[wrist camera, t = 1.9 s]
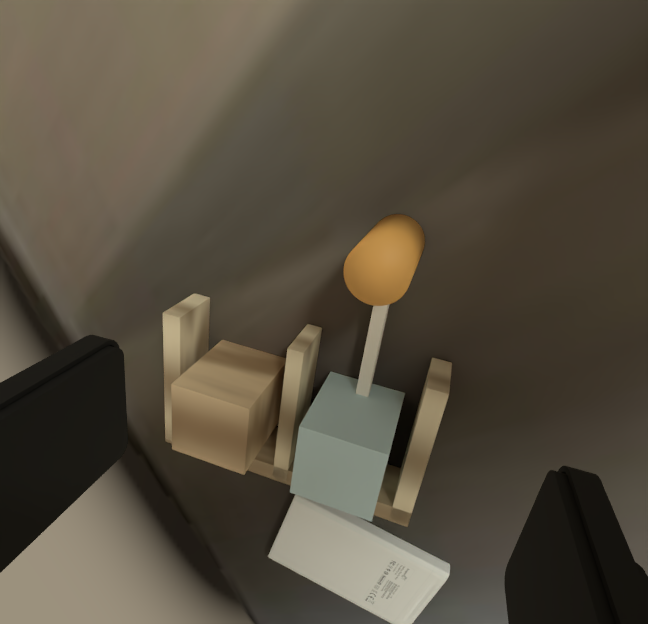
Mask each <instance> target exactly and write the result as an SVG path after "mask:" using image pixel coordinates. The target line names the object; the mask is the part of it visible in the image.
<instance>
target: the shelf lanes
mask: <svg viewBox="0 0 648 624" xmlns="http://www.w3.org/2000/svg"><path fill="white" fill-rule="evenodd" d="M209 317H210V297H206V296H202V295H199V294H195V293H194V294H192V295H191V296H189V297H188V298H186V299H184V300H183V301H181V302H180V303H178V304H176V305H175V306H173V307H171V308H170V309H168V310H167V311H165V312H163V347H164V395H165V441H166V442H169V443H172V400H171V384H172V383H173V382H174V381H175V380H176V379H178V378H179V377H180V376H181V375H182V374H183V373H184V372H186V371H187V370H188V369H189V368H190V367H191V366H192V365H194V364H195V363H196V362H197V361H198V360H199V359H200V358H202V357H203V356H204V355H205V354H206V353H207V352H208V351H209ZM321 333H322V328H321V327H317V326H314V325H310V324H307V325H306V326H305V328H304V329H303V330H302V331H301V332H300V334H299V335H298V336H297V337H296V339H295V340H294V341H293V342H292V343H291V345H290V346H289V347H288V348H287V356H286V365H285V373H284V382H283V390H282V399H281V407H280V416H279V424H278V428H276V427H275V428H274V430H273V431H272V433H271V434H270V436H269V438H268V439H267V441H266V442H265V444H264V445H263V447H262V448H261V450H260V451H259V453H258V455H257V456H256V458H255V459H254V461H253V462H252V464H251V465H250V467H249V468H248V471H251V472H254V473H256V474H259V475H262V476H265V477H268V478H271V479H273V480H276V481H279V482H282V483H285V484H287V485H290V486H291V480H292V473H293V466H294V459H295V452H296V445H297V438H298V431H299V426H300V424H301V422H302V420H303V419H304V417H305V415H306V413H307V412H308V410H309V408H310V405H311V398H312V392H313V385H314V379H315V372H316V366H317V359H318V353H319V346H320V339H321ZM451 370H452V363H451V362H447V361H444V360H440V359H436V358H433V357H432V360H431V363H430V367H429V370H428V374H427V377H426V381H425V384H424V388H423V391H422V395H421V398H420V402H419V405H418V409H417V413H416V416H415V420H414V423H413V427H412V430H411V434H410V437H409V441H408V444H407V448H406V451H405V455H404V459H403V462H402V466H401V468H398V467H395V466H392V465H389V464H387V465H386V469H385V473H384V477H383V481H382V484H381V488H380V492H379V496H378V500H377V503H376V507H375V511H374V515H375V516H378V517H381V518H383V519H386V520H389V521H392V522H395V523H398V524H400V525H403V526H406V527H408V523H409V520H410V517H411V514H412V511H413V508H414V504H415V501H416V498H417V495H418V492H419V489H420V485H421V482H422V479H423V476H424V473H425V470H426V466H427V463H428V460H429V457H430V454H431V451H432V447H433V444H434V441H435V438H436V435H437V431H438V428H439V425H440V422H441V419H442V416H443V412H444V409H445V406H446V403H447V400H448V397H449V391H450V380H451Z"/></svg>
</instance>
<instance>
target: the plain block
mask: <svg viewBox="0 0 648 624" xmlns="http://www.w3.org/2000/svg"><path fill="white" fill-rule="evenodd" d="M285 365H286V358H283V357H280V356H277V355H273V354H270V353H266V352H263V351H259V350H256V349H252V348H249V347H245V346H242V345H239V344H235V343H232V342H228V341H225V340H221V341H220V342H219V343H218V344H217V345H215V346H214V347H213V348H212V349H211V350H210V351H209V352H207V353H206V354H205V355H204V356H203V357H202V358H200V359H199V360H198V361H197V362H196V363H195V364H194V365H192V366H191V367H190V368H189V369H188V370H187V371H186V372H184V373H183V374H182V375H181V376H180V377H179V378H178V379H176V380H175V381H174V382H173V383H172V384H171V400H172V449H173V450H176V451H178V452H181V453H184V454H187V455H190V456H192V457H195V458H198V459H201V460H204V461H206V462H209V463H212V464H215V465H217V466H220V467H223V468H226V469H229V470H231V471H234V472H237V473H240V474H243V475H245V473H246V471H247V470H248V468H249V467H250V465H251V464H252V462H253V461H254V459H255V458H256V456H257V455H258V453H259V451H260V450H261V448H262V447H263V445H264V444H265V442H266V441H267V439H268V438H269V436H270V434H271V433H272V431H273V430H274V428H275V427H276V425H277V424H278V422H279V416H280V407H281V399H282V390H283V382H284V373H285Z"/></svg>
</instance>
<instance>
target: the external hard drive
mask: <svg viewBox="0 0 648 624" xmlns="http://www.w3.org/2000/svg"><path fill="white" fill-rule="evenodd" d="M268 557H269V558H270V559H272V560H274V561H276V562H278V563H280V564H282V565H284V566H285V567H287V568H289V569H291V570H293V571H295V572H296V573H298V574H300V575H302V576H304V577H306V578H308V579H309V580H311V581H313V582H315V583H317V584H319V585H321V586H323V587H324V588H326V589H328V590H330V591H332V592H334V593H336V594H337V595H339V596H341V597H343V598H345V599H347V600H349V601H350V602H352V603H354V604H356V605H358V606H360V607H362V608H364V609H365V610H367V611H369V612H371V613H373V614H375V615H377V616H379V617H380V618H382V619H384V620H386V621H388V622H390V623H392V624H412V623H413V622H414V620H415V619H416V618H417V617H418V615H419V614H420V613H421V612H422V610H423V609H424V608H425V607H426V605H427V604H428V603H429V602H430V600H431V599H432V598H433V597H434V595H435V594H436V593H437V592H438V590H439V589H440V588H441V587H442V585H443V584H444V583H445V582H446V580H447V579H448V577H449V574H450V564H449V563H447V562H445V561H443V560H441V559H439V558H437V557H435V556H433V555H431V554H429V553H427V552H425V551H423V550H421V549H419V548H417V547H416V546H414V545H412V544H410V543H408V542H406V541H404V540H402V539H400V538H398V537H396V536H394V535H392V534H390V533H389V532H387V531H385V530H383V529H381V528H379V527H377V526H375V525H373V524H371V523H369V522H367V521H365V520H363V519H361V518H359V517H357V516H354V515H352V514H349V513H346V512H343V511H340V510H338V509H335V508H332V507H329V506H327V505H324V504H321V503H318V502H315V501H313V500H310V499H307V498H304V497H301V496H299V495H296V494H295V496H294V498H293V501H292V503H291V505H290V508H289V510H288V512H287V514H286V517H285V519H284V521H283V523H282V526H281V528H280V530H279V532H278V535H277V537H276V539H275V541H274V544H273V546H272V548H271V550H270V553H269V555H268Z"/></svg>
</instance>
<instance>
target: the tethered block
mask: <svg viewBox="0 0 648 624" xmlns="http://www.w3.org/2000/svg"><path fill="white" fill-rule="evenodd" d="M424 245H425V236H424V232H423V230H422V228H421V226H420V225H419V224H418V223H417V222H416V221H415V220H414V219H412V218H411V217H409V216H406V215H402V214H394V215H389V216H387V217H385V218H383V219H382V220H380V221H379V222H378V223H377V224H376V225H375V226H374V227H373V228H372V230H371V231H370V232H369V233H368V234H367V235H366V236H365V237H364V238H363V239H362V240H361V241H360V242H359V243H358V244H357V246H356V247H355V248H354V249H353V250H352V251H351V252H350V253H349V255H348V256H347V258H346V261H345V264H344V279H345V283H346V285H347V287H348V289H349V290H350V292H351V293H352V294H353V295H354V296H355V297H356V298H357V299H359V300H360V301H362V302H364V303H366V304H369V305H373V310H372V315H371V320H370V325H369V330H368V335H367V339H366V344H365V349H364V354H363V359H362V364H361V369H360V374H359V379H355V378H352V377H348V376H345V375H341V374H338V373H335V372H330V373H329V375H328V377H327V379H326V380H325V382H324V384H323V386H322V387H321V389H320V391H319V392H318V394H317V396H316V398H315V399H314V401H313V403H312V405H311V406H310V408H309V410H308V412H307V413H306V415H305V417H304V419H303V420H302V422H301V424H300V426H299V431H298V438H297V445H296V452H295V459H294V466H293V473H292V480H291V487H290V493H293V494H296V495H299V496H301V497H304V498H307V499H310V500H313V501H315V502H318V503H321V504H324V505H327V506H329V507H332V508H335V509H338V510H340V511H343V512H346V513H349V514H352V515H354V516H357V517H360V518H363V519H366V520H368V521H371V522H372V519H373V515H374V511H375V507H376V503H377V500H378V496H379V492H380V488H381V484H382V481H383V477H384V473H385V469H386V465H387V462H388V458H389V454H390V450H391V446H392V442H393V438H394V435H395V431H396V427H397V423H398V419H399V415H400V411H401V407H402V403H403V399H404V396H405V393H403V392H400V391H397V390H393V389H390V388H386V387H383V386H379V385H376V384H372V382H373V377H374V373H375V368H376V364H377V359H378V355H379V350H380V346H381V341H382V337H383V332H384V328H385V323H386V319H387V314H388V310H389V305H390V304H392V303H394V302H396V301H397V300H399V299H400V298H401V297H402V296H403V295H404V294H405V292H406V291H407V289H408V287H409V285H410V282H411V280H412V277H413V275H414V272H415V270H416V267H417V265H418V262H419V260H420V257H421V255H422V252H423V249H424Z"/></svg>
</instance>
